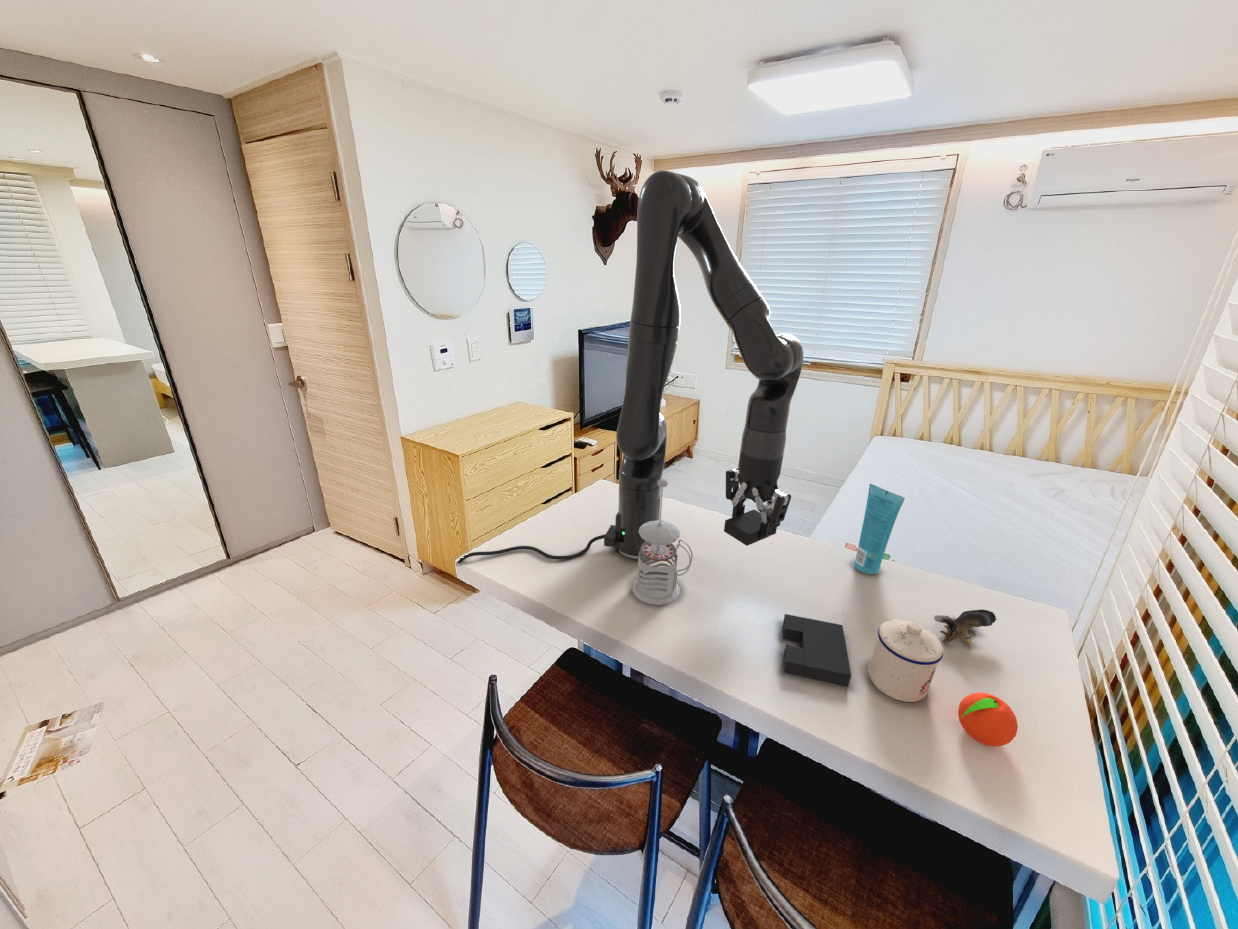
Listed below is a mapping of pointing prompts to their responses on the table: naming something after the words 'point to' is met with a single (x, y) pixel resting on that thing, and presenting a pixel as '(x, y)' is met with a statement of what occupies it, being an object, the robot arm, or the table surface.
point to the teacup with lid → (904, 660)
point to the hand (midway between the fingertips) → (750, 529)
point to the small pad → (746, 527)
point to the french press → (658, 580)
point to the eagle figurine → (965, 624)
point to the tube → (876, 528)
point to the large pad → (816, 650)
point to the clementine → (987, 719)
